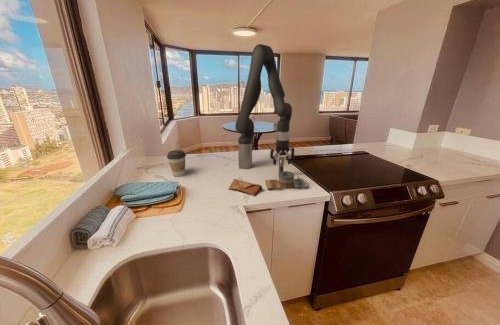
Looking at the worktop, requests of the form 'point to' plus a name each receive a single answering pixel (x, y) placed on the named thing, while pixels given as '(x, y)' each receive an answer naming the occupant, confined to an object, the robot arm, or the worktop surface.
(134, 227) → the worktop surface
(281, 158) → the hinge pin
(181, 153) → the coffee cup
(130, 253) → the worktop surface
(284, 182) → the hinge leaves
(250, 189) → the sunglasses case
